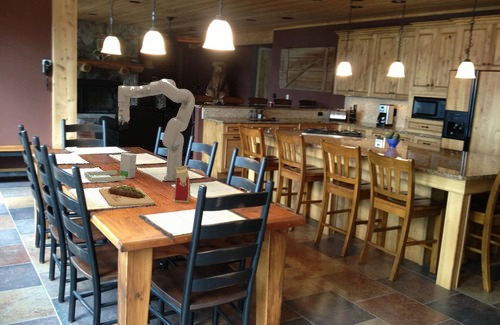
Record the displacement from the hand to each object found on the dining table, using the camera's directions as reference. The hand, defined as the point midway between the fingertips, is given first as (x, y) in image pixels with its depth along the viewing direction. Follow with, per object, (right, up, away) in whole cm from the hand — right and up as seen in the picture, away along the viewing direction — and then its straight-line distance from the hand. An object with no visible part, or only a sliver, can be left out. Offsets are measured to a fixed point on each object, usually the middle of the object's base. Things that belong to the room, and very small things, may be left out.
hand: (123, 129), depth 314 cm
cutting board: (+17, -42, -58) cm, 74 cm away
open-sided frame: (-7, -32, -17) cm, 37 cm away
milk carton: (+48, -44, -55) cm, 85 cm away
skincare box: (+5, -32, -9) cm, 34 cm away
